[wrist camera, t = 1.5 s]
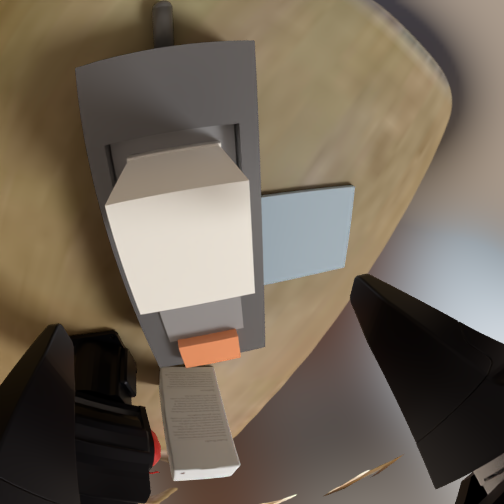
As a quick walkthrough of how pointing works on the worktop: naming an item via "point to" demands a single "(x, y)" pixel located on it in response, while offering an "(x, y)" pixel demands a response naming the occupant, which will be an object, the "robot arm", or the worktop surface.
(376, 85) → the worktop surface
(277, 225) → the mat
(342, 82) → the worktop surface
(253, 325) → the gray recessed block
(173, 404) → the skincare box
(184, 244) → the block
